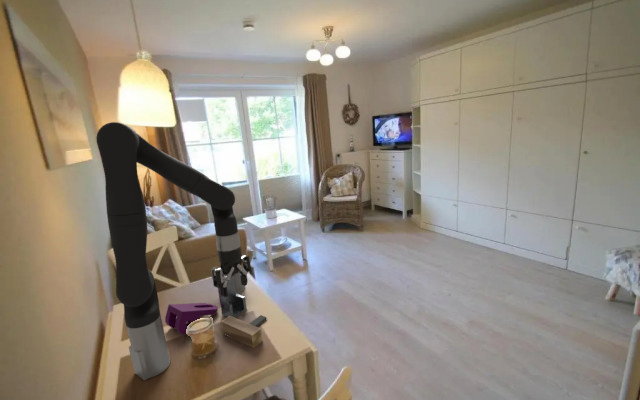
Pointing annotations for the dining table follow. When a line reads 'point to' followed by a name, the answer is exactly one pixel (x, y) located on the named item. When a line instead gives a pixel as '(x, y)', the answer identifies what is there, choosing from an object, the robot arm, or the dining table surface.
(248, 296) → the dining table surface
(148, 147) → the robot arm
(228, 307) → the cup bracket
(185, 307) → the mounting bracket
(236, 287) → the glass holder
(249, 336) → the brown wooden block
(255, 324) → the far saddle
